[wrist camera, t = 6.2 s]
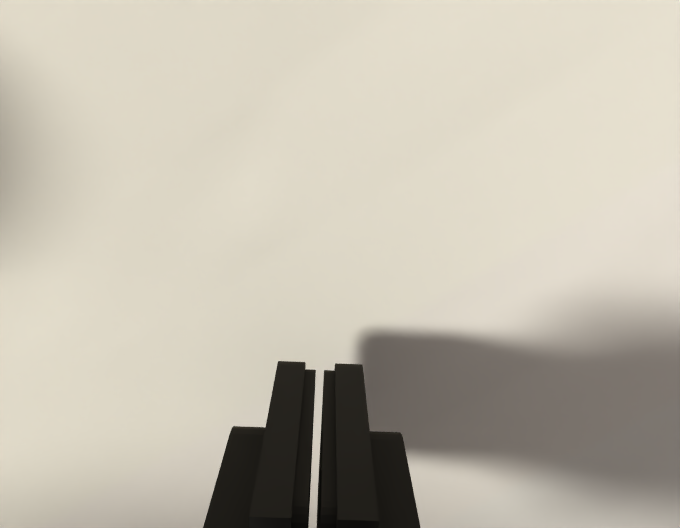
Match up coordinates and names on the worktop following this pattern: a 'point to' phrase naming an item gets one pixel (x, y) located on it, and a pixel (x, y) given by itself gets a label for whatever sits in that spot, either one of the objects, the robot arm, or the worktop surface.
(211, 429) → the worktop surface
